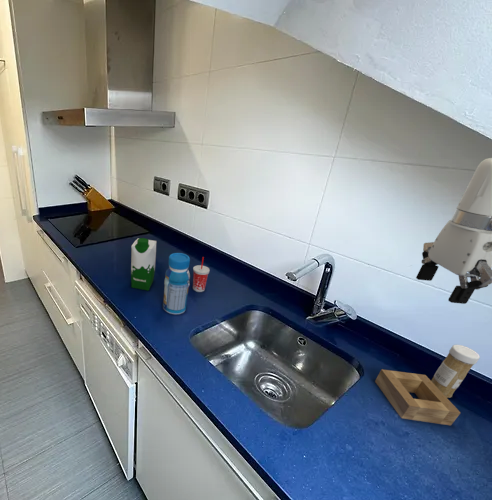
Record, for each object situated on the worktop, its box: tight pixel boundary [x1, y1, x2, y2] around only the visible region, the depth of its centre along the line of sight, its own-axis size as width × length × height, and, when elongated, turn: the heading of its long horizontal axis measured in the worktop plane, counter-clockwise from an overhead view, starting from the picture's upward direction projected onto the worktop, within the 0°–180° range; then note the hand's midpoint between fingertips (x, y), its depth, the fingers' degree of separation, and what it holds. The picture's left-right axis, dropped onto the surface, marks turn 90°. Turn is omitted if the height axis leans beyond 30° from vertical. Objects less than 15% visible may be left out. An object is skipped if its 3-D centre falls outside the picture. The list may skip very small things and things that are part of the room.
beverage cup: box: [192, 256, 211, 293], centre depth 108 cm, size 6×6×14 cm
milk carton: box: [130, 237, 157, 291], centre depth 109 cm, size 9×9×20 cm
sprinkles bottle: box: [430, 344, 481, 399], centre depth 69 cm, size 5×5×14 cm
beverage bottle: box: [162, 252, 191, 315], centre depth 95 cm, size 8×8×20 cm
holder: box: [374, 368, 461, 426], centre depth 68 cm, size 10×10×4 cm
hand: (438, 290), depth 66 cm, fingers open, 9 cm apart
